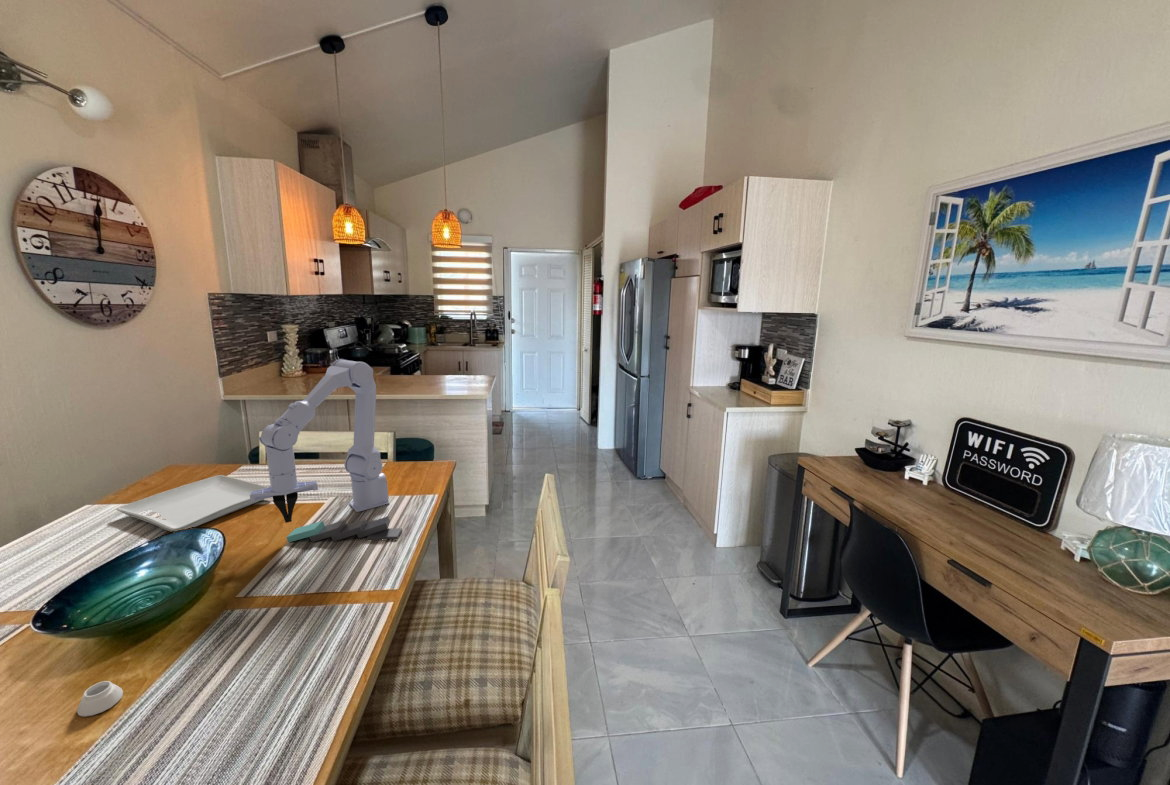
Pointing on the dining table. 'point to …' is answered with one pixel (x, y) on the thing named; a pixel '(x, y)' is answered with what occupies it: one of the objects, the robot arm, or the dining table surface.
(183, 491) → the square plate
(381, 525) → the tile
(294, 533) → the tile
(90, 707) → the small white bowl
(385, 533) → the tile
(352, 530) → the tile
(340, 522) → the tile
